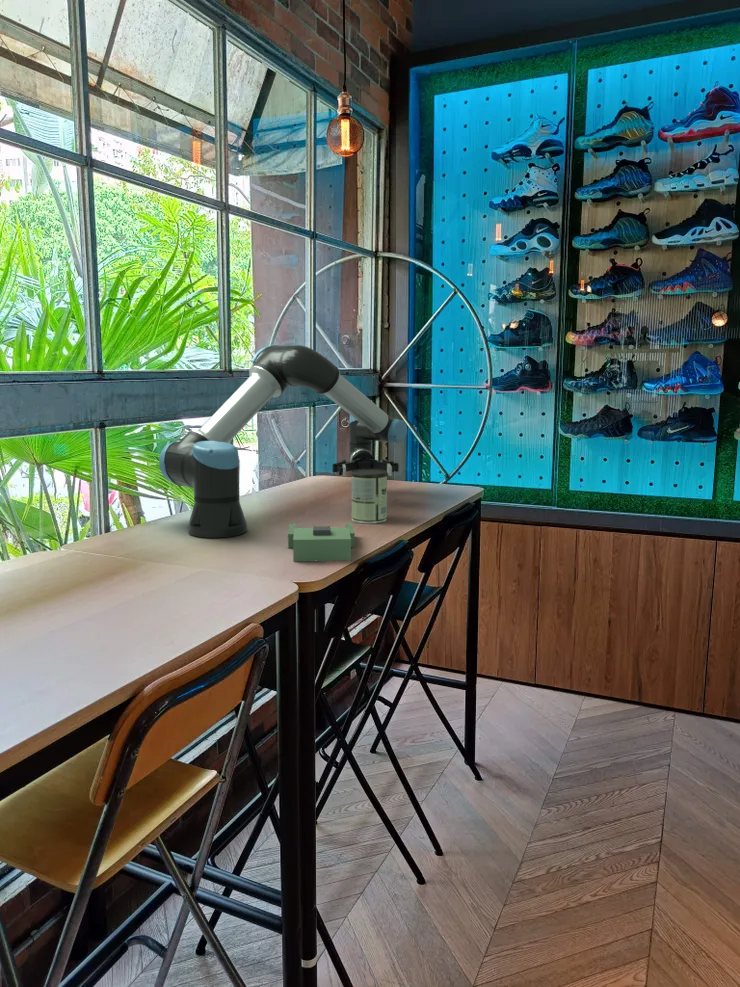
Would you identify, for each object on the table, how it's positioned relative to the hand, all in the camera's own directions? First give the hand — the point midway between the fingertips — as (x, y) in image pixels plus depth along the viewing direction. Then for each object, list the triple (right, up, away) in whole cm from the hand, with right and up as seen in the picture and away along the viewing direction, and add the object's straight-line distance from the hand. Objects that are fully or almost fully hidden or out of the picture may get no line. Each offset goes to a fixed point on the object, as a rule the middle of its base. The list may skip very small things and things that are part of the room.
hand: (367, 471), depth 219 cm
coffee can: (0, -14, -8) cm, 16 cm away
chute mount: (-11, -20, -40) cm, 46 cm away
